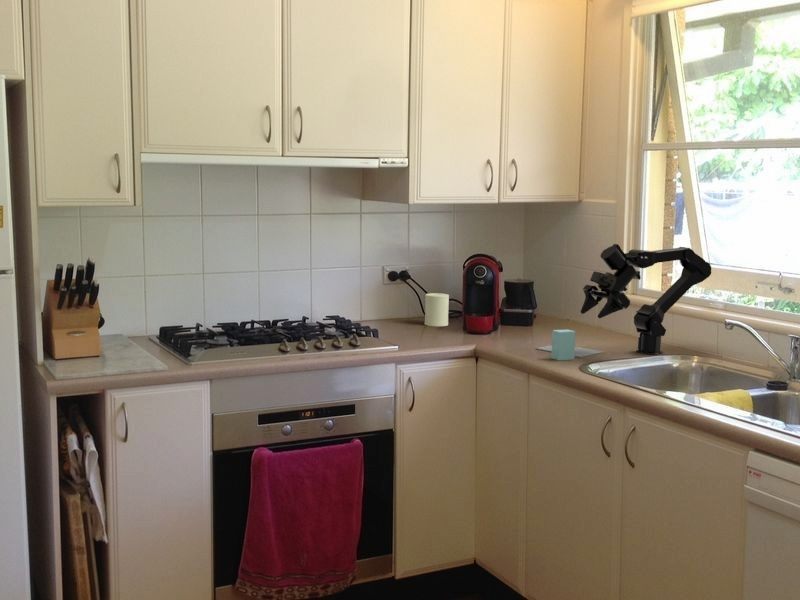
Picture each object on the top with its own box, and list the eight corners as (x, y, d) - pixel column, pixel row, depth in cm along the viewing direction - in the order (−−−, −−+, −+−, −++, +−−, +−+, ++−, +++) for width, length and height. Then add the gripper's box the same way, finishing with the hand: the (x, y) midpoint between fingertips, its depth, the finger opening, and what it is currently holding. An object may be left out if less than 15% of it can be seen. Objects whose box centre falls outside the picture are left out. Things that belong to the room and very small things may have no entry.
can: (451, 323, 352) (452, 292, 350) (444, 327, 343) (445, 295, 341) (428, 321, 355) (429, 291, 353) (421, 325, 346) (422, 294, 344)
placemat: (603, 353, 299) (603, 351, 299) (580, 357, 290) (580, 356, 290) (558, 344, 312) (558, 343, 312) (535, 349, 303) (535, 348, 303)
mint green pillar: (574, 359, 288) (575, 331, 287) (558, 360, 286) (559, 332, 284) (567, 356, 292) (568, 329, 291) (551, 358, 289) (552, 330, 288)
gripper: (589, 260, 299) (559, 294, 296) (624, 265, 282) (593, 302, 279) (607, 283, 303) (578, 317, 300) (643, 290, 286) (613, 326, 283)
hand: (589, 315), depth 291 cm, fingers open, 9 cm apart
